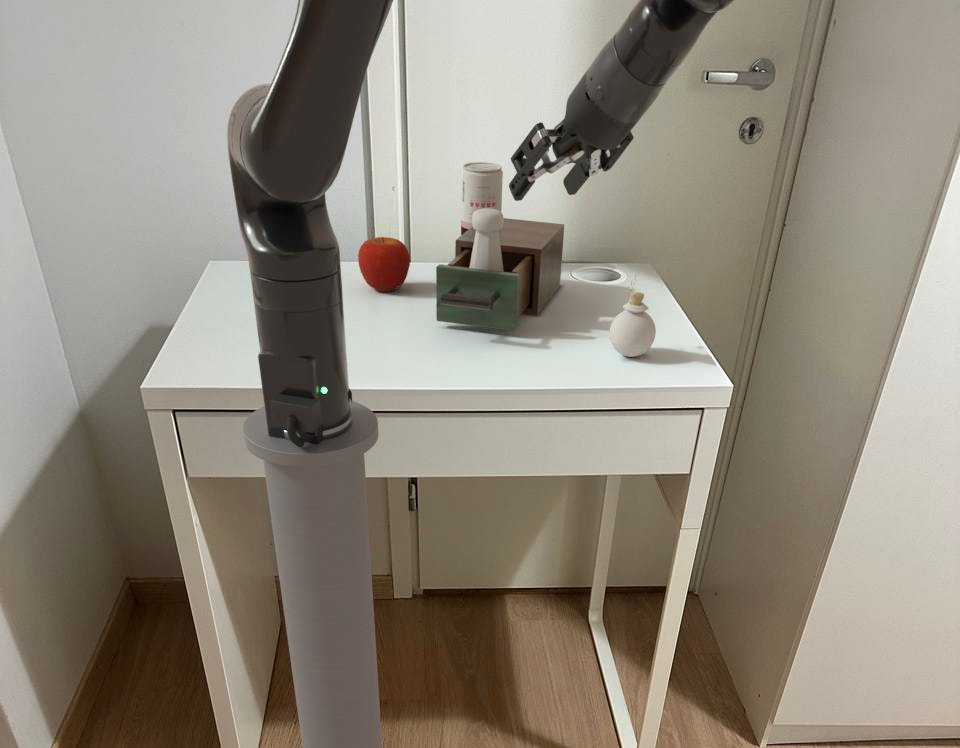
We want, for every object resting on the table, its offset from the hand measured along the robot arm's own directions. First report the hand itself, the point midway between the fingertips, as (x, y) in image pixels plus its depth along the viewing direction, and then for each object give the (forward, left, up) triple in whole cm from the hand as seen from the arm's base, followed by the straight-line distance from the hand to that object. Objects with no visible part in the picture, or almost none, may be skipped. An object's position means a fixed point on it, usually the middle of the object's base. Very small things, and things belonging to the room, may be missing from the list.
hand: (541, 191), depth 111 cm
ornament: (+3, -13, -20) cm, 24 cm away
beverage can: (+35, +18, -20) cm, 44 cm away
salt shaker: (+8, +9, -18) cm, 21 cm away
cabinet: (+21, +9, -20) cm, 30 cm away
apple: (+17, +28, -20) cm, 38 cm away
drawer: (+8, +9, -19) cm, 22 cm away
